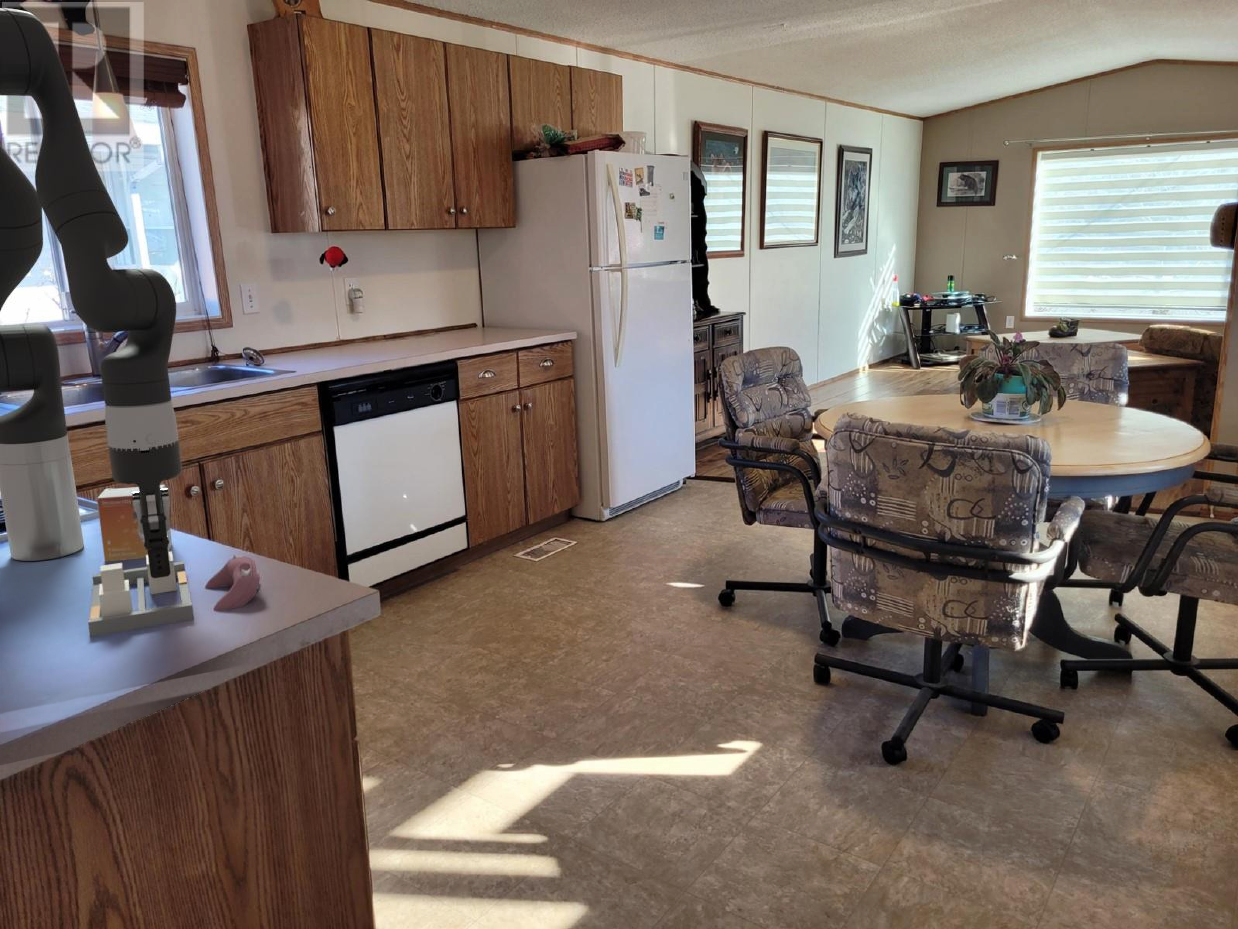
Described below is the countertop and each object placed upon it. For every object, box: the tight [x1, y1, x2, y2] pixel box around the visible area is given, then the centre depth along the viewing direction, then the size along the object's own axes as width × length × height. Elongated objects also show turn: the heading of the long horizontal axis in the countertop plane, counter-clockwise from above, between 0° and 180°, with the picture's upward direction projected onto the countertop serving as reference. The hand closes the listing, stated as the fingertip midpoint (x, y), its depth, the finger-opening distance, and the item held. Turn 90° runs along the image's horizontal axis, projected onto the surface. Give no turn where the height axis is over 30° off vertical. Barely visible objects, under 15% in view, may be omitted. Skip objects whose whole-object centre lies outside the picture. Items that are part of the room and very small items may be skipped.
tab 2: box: [145, 547, 178, 595], centre depth 115 cm, size 4×3×6 cm
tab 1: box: [99, 562, 134, 617], centre depth 105 cm, size 4×3×6 cm
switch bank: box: [87, 561, 195, 637], centre depth 110 cm, size 20×11×3 cm, turn 28°
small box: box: [96, 484, 173, 563], centre depth 128 cm, size 8×6×10 cm
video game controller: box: [204, 554, 262, 612], centre depth 113 cm, size 10×5×7 cm, turn 31°
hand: (160, 575), depth 112 cm, fingers closed
